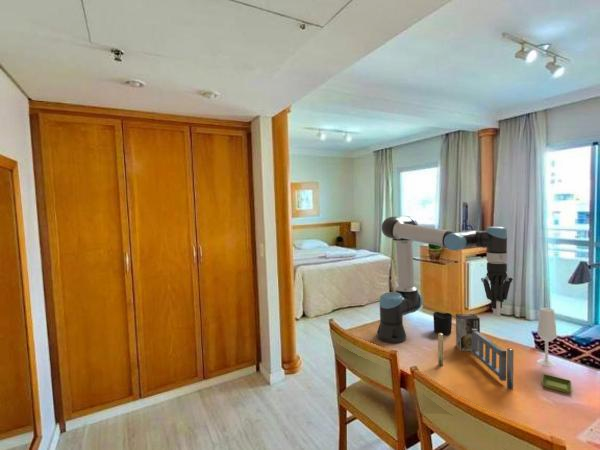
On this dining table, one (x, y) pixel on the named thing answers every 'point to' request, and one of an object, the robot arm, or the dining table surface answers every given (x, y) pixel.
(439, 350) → the post
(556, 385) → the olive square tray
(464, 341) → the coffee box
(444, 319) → the pen holder
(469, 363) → the dining table surface
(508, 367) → the hinge post
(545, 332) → the champagne flute
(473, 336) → the gate
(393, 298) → the robot arm
